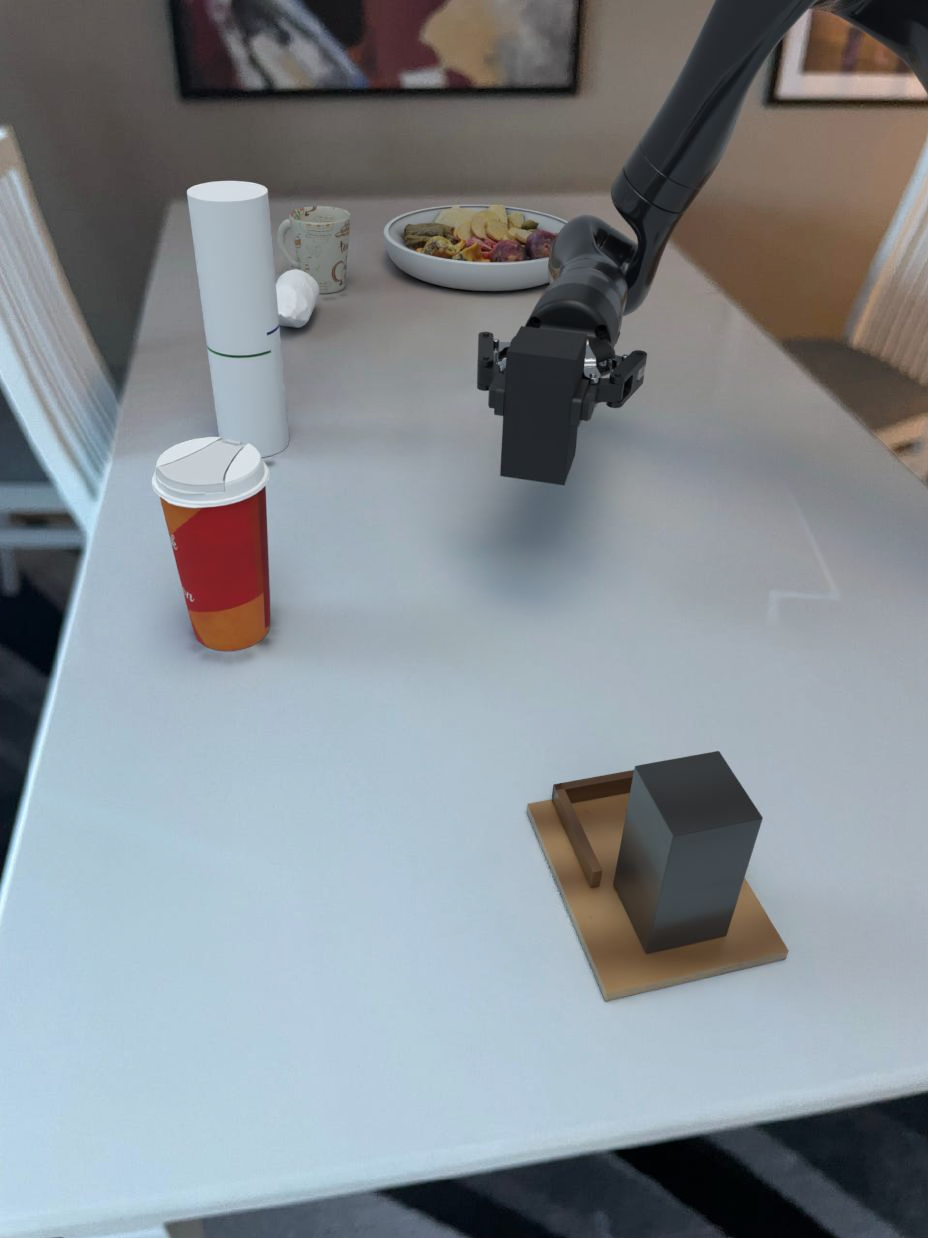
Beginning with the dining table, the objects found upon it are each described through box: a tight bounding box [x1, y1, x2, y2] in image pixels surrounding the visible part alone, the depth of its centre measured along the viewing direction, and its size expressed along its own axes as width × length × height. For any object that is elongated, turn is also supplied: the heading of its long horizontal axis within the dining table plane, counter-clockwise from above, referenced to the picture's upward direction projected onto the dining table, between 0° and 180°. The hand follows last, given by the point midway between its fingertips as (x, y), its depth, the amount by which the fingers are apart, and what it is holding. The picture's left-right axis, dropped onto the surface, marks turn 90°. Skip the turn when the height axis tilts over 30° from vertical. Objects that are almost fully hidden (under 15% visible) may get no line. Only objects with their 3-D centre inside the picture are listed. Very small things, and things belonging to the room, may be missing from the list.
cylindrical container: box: [186, 180, 290, 458], centre depth 97 cm, size 7×7×25 cm
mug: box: [276, 205, 351, 295], centre depth 141 cm, size 8×13×10 cm, turn 58°
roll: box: [276, 268, 320, 329], centre depth 130 cm, size 6×12×6 cm, turn 178°
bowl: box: [383, 203, 569, 292], centre depth 151 cm, size 30×30×8 cm
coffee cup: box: [151, 436, 271, 652], centre depth 75 cm, size 8×8×15 cm
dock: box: [526, 750, 790, 1002], centre depth 58 cm, size 14×11×11 cm
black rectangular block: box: [499, 325, 587, 486], centre depth 75 cm, size 5×5×10 cm
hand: (537, 408), depth 72 cm, fingers closed on black rectangular block, 5 cm apart
